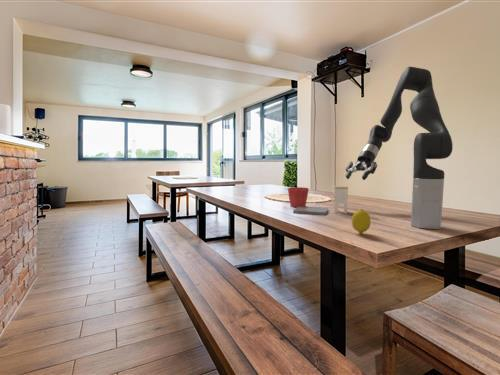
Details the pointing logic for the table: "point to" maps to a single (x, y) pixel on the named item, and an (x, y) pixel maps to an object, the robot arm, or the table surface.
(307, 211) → the trivet
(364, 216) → the lemon
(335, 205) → the stool
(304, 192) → the flower pot
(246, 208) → the table surface
